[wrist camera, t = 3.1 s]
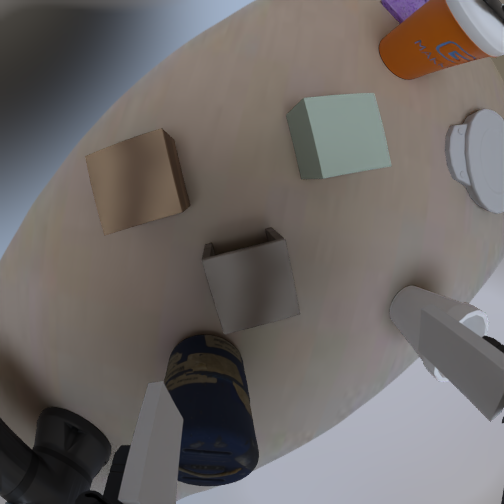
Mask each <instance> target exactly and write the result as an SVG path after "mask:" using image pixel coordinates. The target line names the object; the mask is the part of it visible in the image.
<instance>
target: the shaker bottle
mask: <svg viewBox="0 0 504 504" xmlns="http://www.w3.org/2000/svg"><path fill="white" fill-rule="evenodd" d="M379 51H380V55H381V58H382V60H383V62H384V63H385V65H386V66H387V67H388V68H389V70H390V71H392V72H393V73H394V74H395V75H397V76H398V77H400V78H403V79H408V80H410V79H415V78H417V77H420V76H423V75H426V74H429V73H432V72H436V71H439V70H442V69H445V68H449V67H452V66H455V65H459V64H462V63H466V62H470V61H473V60H477V59H481V58H485V57H498V56H501V55H504V4H502V3H501V2H500V1H499V0H429V1H428V2H426V3H425V4H424V5H423V6H421V7H420V8H419V9H418V10H416V11H415V12H414V13H413V14H411V15H410V16H409V17H408V18H407V19H405V20H404V21H403V22H402V23H401V24H399V25H398V26H397V27H396V28H395V29H394V30H392V31H391V32H390V33H389V34H388V35H387V36H385V37H384V38H383V39H382V40H381V42H380V45H379Z"/></svg>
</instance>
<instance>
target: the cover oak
mask: <svg viewBox="0 0 504 504" xmlns="http://www.w3.org/2000/svg"><path fill="white" fill-rule="evenodd" d="M265 230H266V234H267V239H268V242H266V243H262V244H258V245H254V246H250V247H247V248H243V249H239V250H235V251H231V252H227V253H223V254H219V255H215V254H214V250H213V246H212V243H209V244H205V248H204V253H203V257H202V264H203V267H204V270H205V274H206V277H207V281H208V284H209V287H210V290H211V294H212V297H213V300H214V303H215V307H216V310H217V313H218V316H219V319H220V322H221V325H222V329H223V332H224V334H228V333H232V332H236V331H240V330H244V329H248V328H252V327H256V326H260V325H264V324H267V323H271V322H275V321H278V320H282V319H285V318H289V317H293V316H296V315H299V314H300V310H299V305H298V299H297V294H296V289H295V284H294V279H293V274H292V269H291V264H290V259H289V254H288V249H287V244H286V240H285V239H284V238H283V237H282V236H281V235H280V234H278V233H277V232H276V231H275V230H274V229H273V228H267V229H265Z"/></svg>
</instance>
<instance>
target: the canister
mask: <svg viewBox="0 0 504 504" xmlns="http://www.w3.org/2000/svg"><path fill="white" fill-rule="evenodd" d="M164 384H165V386H166V388H167V390H168V392H169V394H170V396H171V398H172V400H173V401H174V403H175V405H176V407H177V409H178V411H179V412H180V414H181V416H182V418H183V427H182V436H181V446H180V456H179V467H178V479H177V480H178V481H180V482H183V483H186V484H191V485H198V486H219V485H225V484H229V483H233V482H236V481H238V480H241V479H243V478H244V477H246V476H247V475H249V474H250V473H251V472H252V471H253V470H254V468H255V467H256V465H257V463H258V458H259V451H258V445H257V441H256V436H255V431H254V425H253V419H252V413H251V408H250V398H249V392H248V386H247V381H246V376H245V372H244V366H243V360H242V358H241V355H240V353H239V352H238V350H237V349H236V348H235V347H234V346H233V345H232V344H231V343H229V342H228V341H226V340H224V339H222V338H220V337H217V336H212V335H197V336H193V337H190V338H187V339H185V340H183V341H182V342H181V343H179V344H178V345H177V346H176V347H175V348H174V350H173V352H172V353H171V356H170V359H169V363H168V367H167V372H166V376H165V381H164Z"/></svg>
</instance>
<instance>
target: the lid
mask: <svg viewBox="0 0 504 504" xmlns="http://www.w3.org/2000/svg"><path fill="white" fill-rule="evenodd" d="M445 155H446V161H447V166H448V168H449V171H450V173H451V176H452V179H454V180H456V181H458V182H459V183H461V184H462V185H464V186H465V187H466V189H467V191H468V193H469V195H470V197H471V198H472V200H473V201H474V202H475V203H476V204H477V205H478V206H480V207H482V208H485V209H486V210H487V211H490V212H492V213H495V214H498V213H501V212H504V120H503V118H502V117H501V116H500V115H498V114H497V113H496V112H494V111H493V110H489V109H481V110H479V111H477V112H475V113H473V114H471V115H469V116H467V118H466V119H465V121H464V122H463V124H462V125H454V126H450V127H449V130H448V132H447V135H446V140H445Z"/></svg>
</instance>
